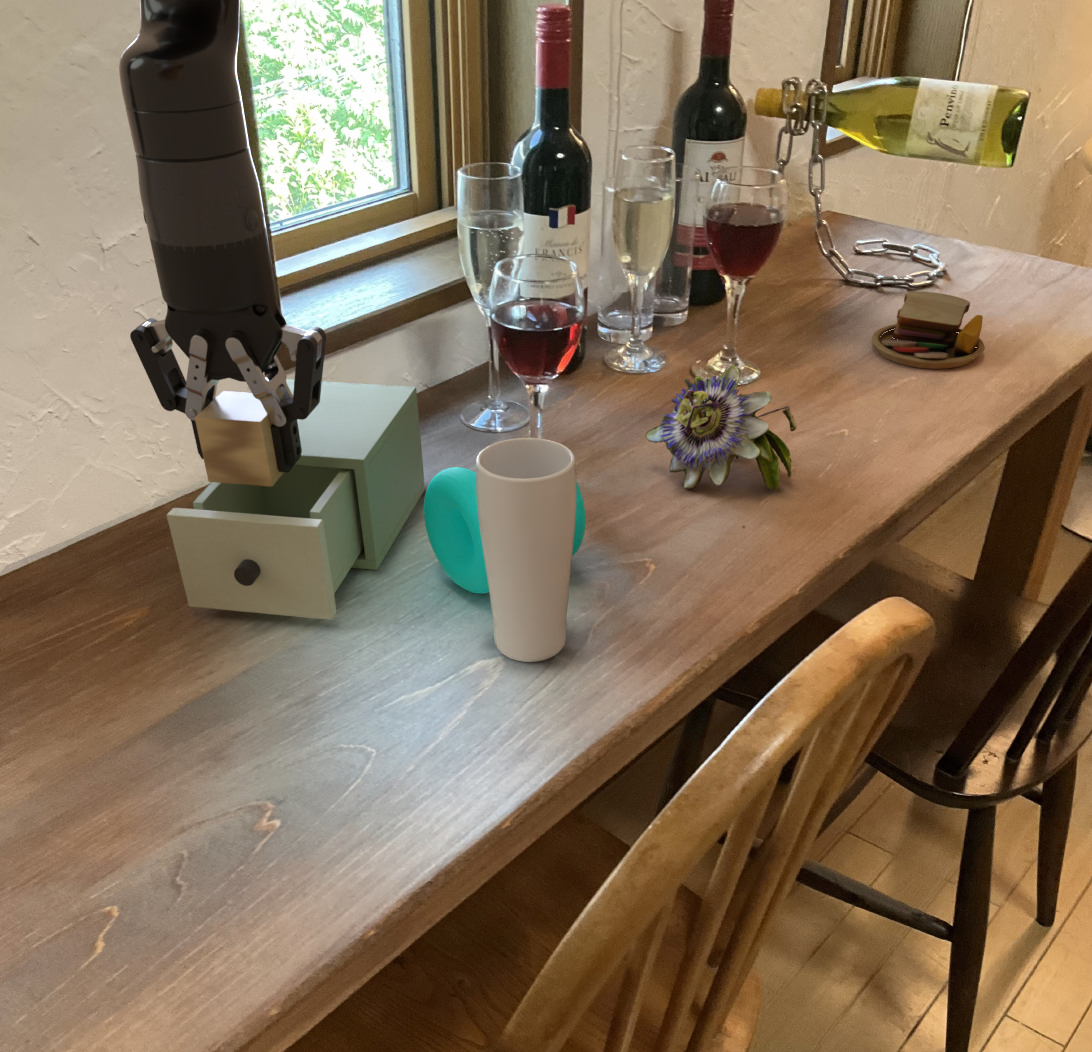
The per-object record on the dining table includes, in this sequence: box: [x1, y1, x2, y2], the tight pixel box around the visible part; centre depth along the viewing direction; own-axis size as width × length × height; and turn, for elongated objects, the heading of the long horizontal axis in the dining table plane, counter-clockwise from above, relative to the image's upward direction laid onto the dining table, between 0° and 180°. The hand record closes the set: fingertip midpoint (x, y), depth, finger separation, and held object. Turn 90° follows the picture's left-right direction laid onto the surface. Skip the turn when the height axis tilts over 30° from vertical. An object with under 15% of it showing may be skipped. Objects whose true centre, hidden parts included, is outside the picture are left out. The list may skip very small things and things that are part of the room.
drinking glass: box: [475, 437, 577, 663], centre depth 79 cm, size 7×7×15 cm
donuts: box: [423, 466, 587, 595], centre depth 89 cm, size 10×10×10 cm
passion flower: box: [644, 363, 798, 492], centre depth 104 cm, size 11×11×12 cm
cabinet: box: [286, 378, 426, 571], centre depth 97 cm, size 15×13×10 cm
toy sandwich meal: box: [871, 291, 986, 370], centre depth 129 cm, size 12×14×5 cm
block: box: [195, 390, 284, 487], centre depth 83 cm, size 5×5×5 cm
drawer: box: [166, 465, 364, 621], centre depth 89 cm, size 15×12×8 cm
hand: (252, 464), depth 85 cm, fingers closed on block, 5 cm apart
